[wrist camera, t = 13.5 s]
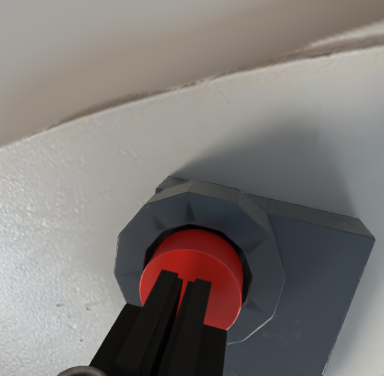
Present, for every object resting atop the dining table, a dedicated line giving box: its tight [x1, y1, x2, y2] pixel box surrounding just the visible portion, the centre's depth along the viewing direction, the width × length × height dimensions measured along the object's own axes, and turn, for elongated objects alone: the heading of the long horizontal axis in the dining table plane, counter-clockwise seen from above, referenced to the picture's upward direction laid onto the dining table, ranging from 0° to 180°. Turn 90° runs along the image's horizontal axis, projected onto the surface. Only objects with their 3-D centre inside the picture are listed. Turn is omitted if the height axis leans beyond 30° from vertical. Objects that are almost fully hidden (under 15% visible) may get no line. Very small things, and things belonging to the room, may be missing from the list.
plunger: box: [139, 229, 243, 330], centre depth 12 cm, size 4×4×2 cm
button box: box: [114, 176, 375, 376], centre depth 15 cm, size 11×10×4 cm
